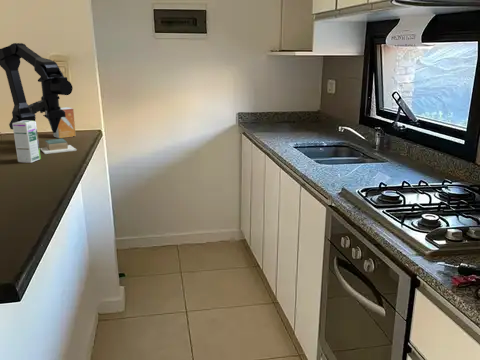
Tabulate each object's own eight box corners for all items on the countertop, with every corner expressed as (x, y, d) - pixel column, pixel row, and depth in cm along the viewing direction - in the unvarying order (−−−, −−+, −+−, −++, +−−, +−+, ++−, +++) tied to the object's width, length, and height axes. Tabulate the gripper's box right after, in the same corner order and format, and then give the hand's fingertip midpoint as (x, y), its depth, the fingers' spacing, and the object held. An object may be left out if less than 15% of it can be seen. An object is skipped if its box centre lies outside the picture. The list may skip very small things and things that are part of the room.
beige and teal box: (44, 140, 189) (48, 143, 182) (62, 138, 192) (67, 141, 186) (45, 146, 190) (49, 150, 183) (63, 145, 193) (67, 148, 187)
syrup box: (31, 163, 166) (26, 122, 162) (17, 162, 167) (11, 122, 163) (41, 159, 171) (36, 120, 167) (27, 158, 172) (22, 119, 168)
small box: (59, 138, 209) (56, 109, 205) (53, 136, 213) (50, 108, 209) (76, 136, 214) (73, 108, 211) (70, 134, 219) (67, 106, 215)
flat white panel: (39, 149, 188) (39, 148, 187) (70, 146, 194) (70, 144, 194) (44, 154, 180) (44, 152, 179) (76, 150, 186) (76, 149, 186)
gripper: (24, 92, 187) (28, 130, 191) (32, 97, 172) (37, 138, 176) (53, 91, 193) (57, 128, 197) (63, 95, 178) (67, 135, 182)
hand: (54, 132), depth 188 cm, fingers closed
